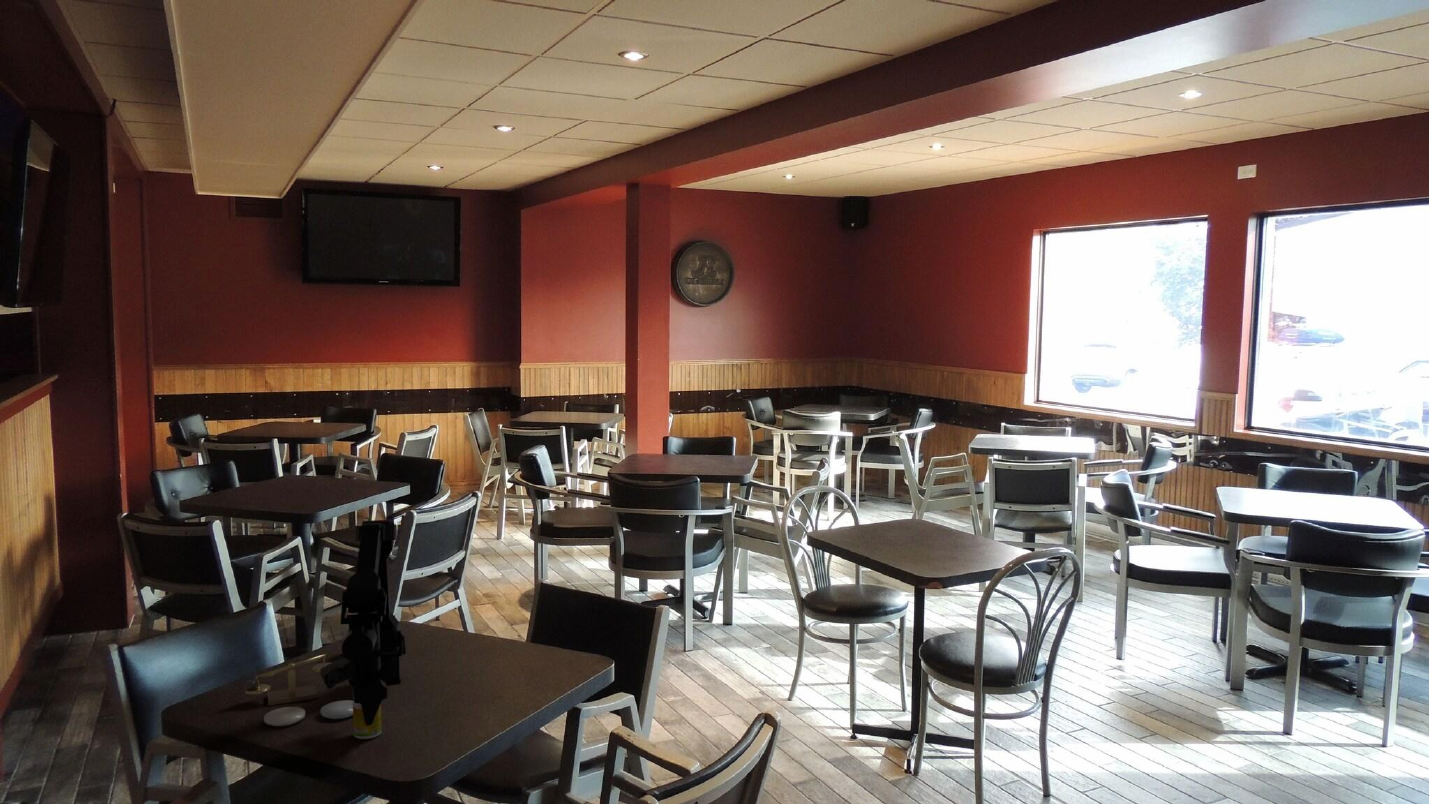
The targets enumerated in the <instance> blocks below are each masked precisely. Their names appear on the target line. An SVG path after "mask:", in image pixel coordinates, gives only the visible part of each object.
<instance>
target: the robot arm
mask: <svg viewBox="0 0 1429 804" xmlns="http://www.w3.org/2000/svg"><path fill="white" fill-rule="evenodd" d="M354 532H355V533H354V542H355V543H359V546H358V553H357V559H356V566H355V573H354V574H352V575H351V576H349V578H348V579H347V582H346V588H345V590H343V591H342V600H341V609H340V610H341V611H340V625H348V631H347V633H346V635H345V637H344V640H343V642H342V645H341V653H342V656H344V657H343V658H340V659H338V660H335V661H333V662H330V663H331V664H329V665H326V666H324V667H323V668H321V669H320V677H321V679H322V680H323V683H324V685H325V687H326V689H327V690H330V689H333V688H335V686H337V685H339V684H341V683H343V682H345V681H347V680H348V681H347V682H348V684H349V686H350V687H351V688H352V691H351V693H352V695H351V696H352V699H353V700H352V701H354V703H360V704H361V707H362V711H363V715H364V719H365V724H366V726H368V725H372V723H373V720H374V718H375V716H376V713H377V711H378V709H379V706H380V704H381V705H382V702H383V700H386V699H388V697H389V695H388V686H387V685H392V684H398V683H399V684H400V683H401V682H402V679H401V675H400V657H403V655H406V654H407V643H406V637H405V636H404V634H403V631H402V630H400V624H399V623H400V621H399V620H398V618H397V617H396V616H395V615H394V614H393V613H392V605H391V604H392V603H391V586H390V585H391V584H390V567H389V565H390V564H389V557H390V555H391V553H392V552H393V549H394V546H395V541H397V540H398V525H397V524H395V522H393V521H392V520H391V519H380V520H379V519H378V520H376V519H375V520H362V522H361V524H359V525H355V526H354ZM347 613H348V614H347ZM398 647H399V648H398Z"/></svg>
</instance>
